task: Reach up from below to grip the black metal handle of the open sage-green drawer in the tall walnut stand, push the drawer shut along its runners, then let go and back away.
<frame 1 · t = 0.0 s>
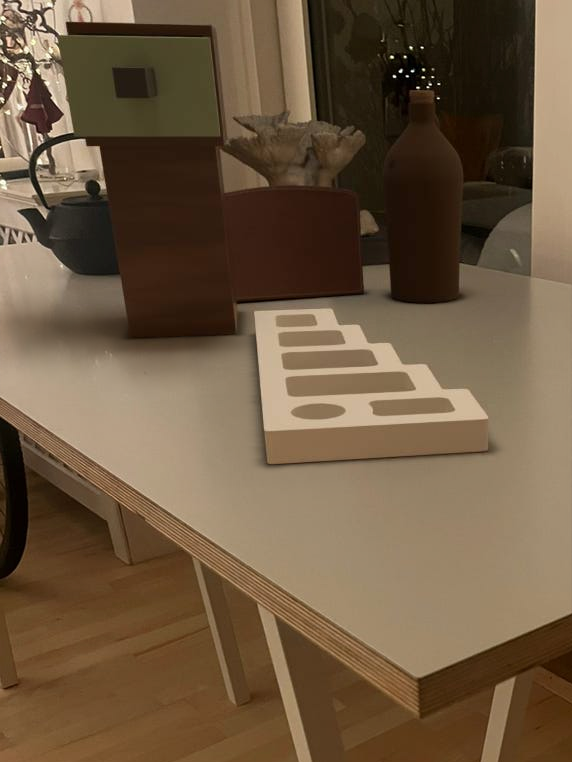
coral: (300, 260, 163), on the table
holder: (352, 384, 99), on the table
letter holder: (286, 294, 138), on the table
olive oil: (425, 298, 137), on the table
drawer: (143, 87, 97), point 26 cm above the table, slide at 6.0 cm
stand: (186, 326, 120), on the table
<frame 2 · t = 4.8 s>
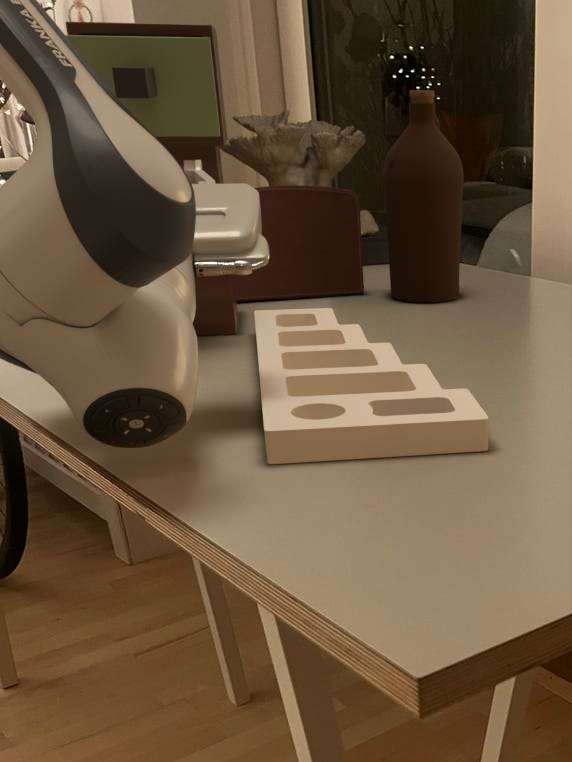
hand: (136, 167, 84), 20 cm above the table, tool pointing upward, fingers open, 8 cm apart
nothing on the table moved.
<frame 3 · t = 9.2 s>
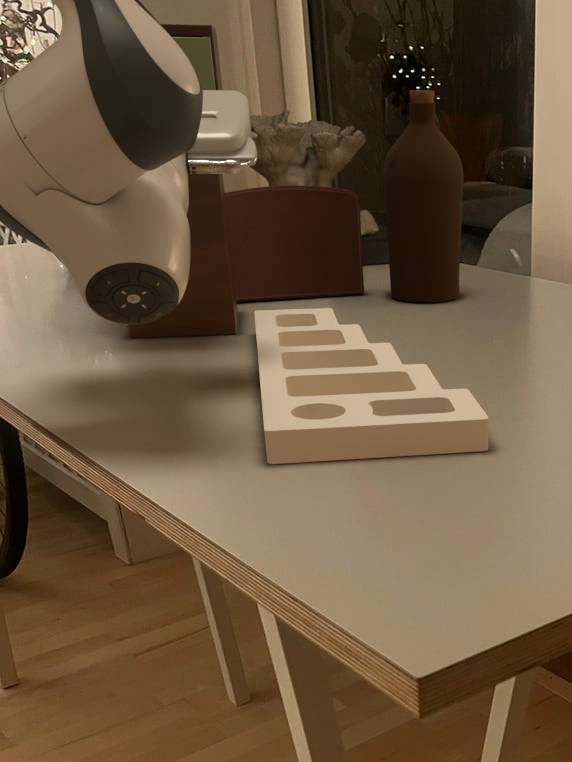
hand: (135, 76, 91), 26 cm above the table, tool pointing upward, fingers closed on drawer, 3 cm apart
drawer: (143, 87, 97), point 26 cm above the table, slide at 6.0 cm, touching gripper
everything else where it was.
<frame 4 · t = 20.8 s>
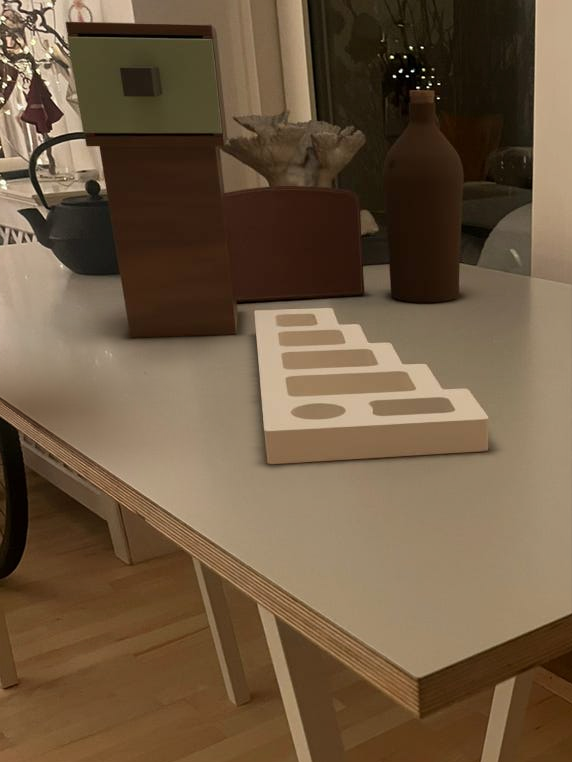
drawer: (149, 86, 102), point 26 cm above the table, slide at 0.0 cm
everything else where it was.
at the end: drawer slide at 0.0 cm; olive oil moved 0.2 cm from its start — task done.
